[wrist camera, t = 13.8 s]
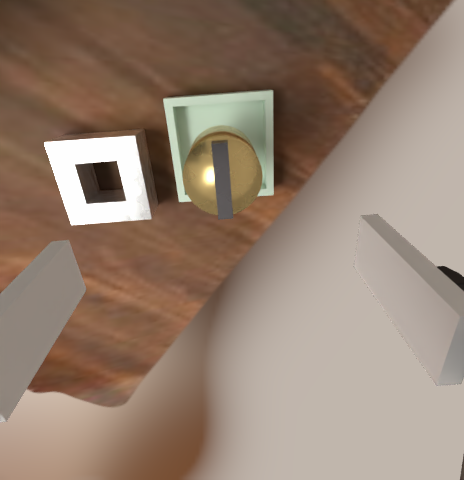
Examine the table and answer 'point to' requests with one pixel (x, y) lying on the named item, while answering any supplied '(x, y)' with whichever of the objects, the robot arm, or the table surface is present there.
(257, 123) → the tray
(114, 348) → the table surface
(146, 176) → the silver square block
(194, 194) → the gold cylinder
